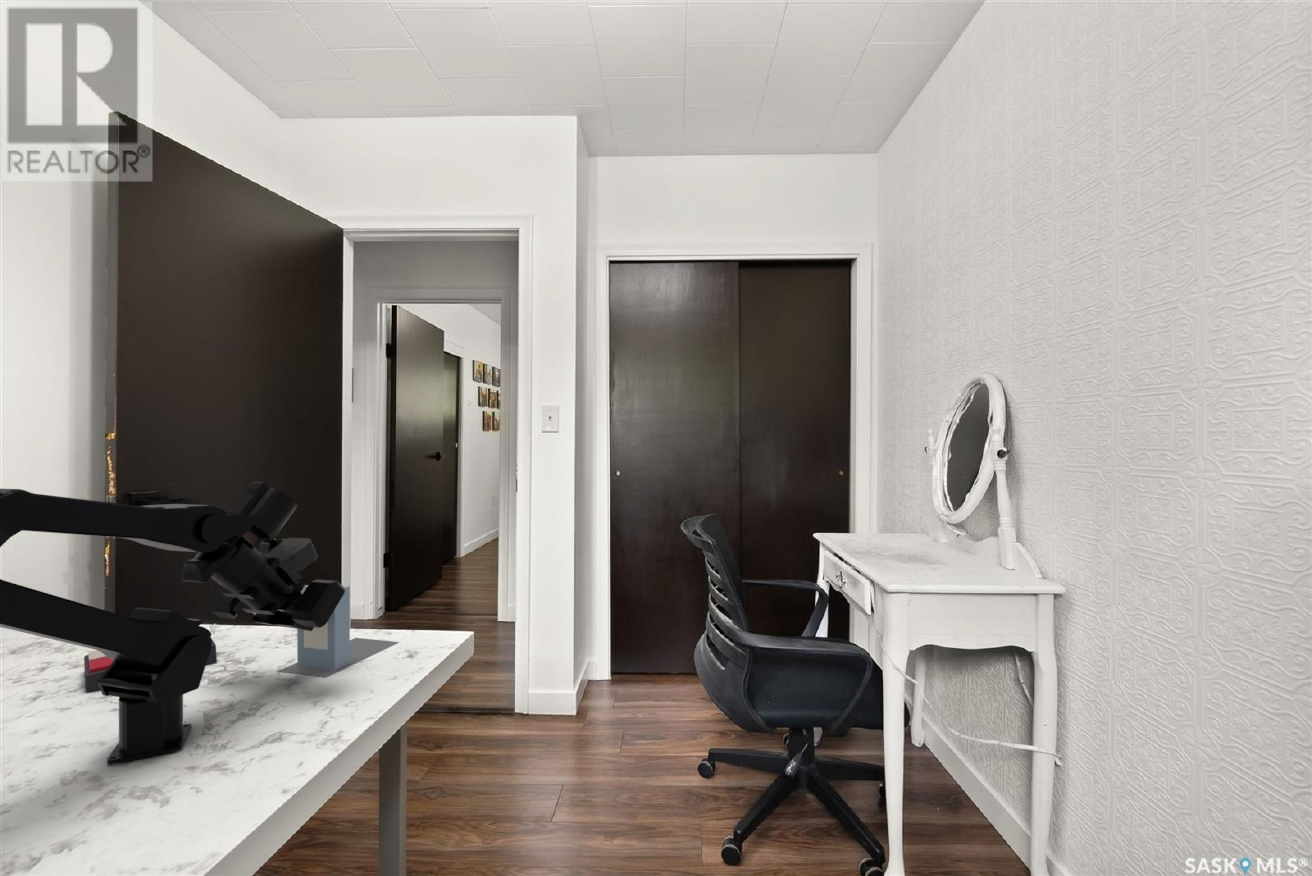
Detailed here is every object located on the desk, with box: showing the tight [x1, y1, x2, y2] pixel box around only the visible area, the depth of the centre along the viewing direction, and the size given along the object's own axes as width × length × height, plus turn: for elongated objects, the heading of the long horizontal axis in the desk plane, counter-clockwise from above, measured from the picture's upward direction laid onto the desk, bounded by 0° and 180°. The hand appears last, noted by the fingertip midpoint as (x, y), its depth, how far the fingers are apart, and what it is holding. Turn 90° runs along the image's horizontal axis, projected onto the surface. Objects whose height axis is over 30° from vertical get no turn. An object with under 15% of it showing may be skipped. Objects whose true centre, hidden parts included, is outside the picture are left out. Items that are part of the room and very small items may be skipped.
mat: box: [276, 637, 400, 679], centre depth 98 cm, size 16×9×1 cm, turn 165°
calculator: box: [83, 638, 218, 694], centre depth 94 cm, size 11×4×15 cm
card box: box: [296, 584, 351, 670], centre depth 94 cm, size 3×7×12 cm, turn 75°
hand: (311, 627), depth 92 cm, fingers closed
